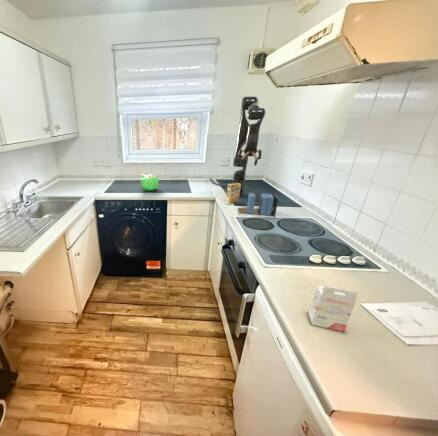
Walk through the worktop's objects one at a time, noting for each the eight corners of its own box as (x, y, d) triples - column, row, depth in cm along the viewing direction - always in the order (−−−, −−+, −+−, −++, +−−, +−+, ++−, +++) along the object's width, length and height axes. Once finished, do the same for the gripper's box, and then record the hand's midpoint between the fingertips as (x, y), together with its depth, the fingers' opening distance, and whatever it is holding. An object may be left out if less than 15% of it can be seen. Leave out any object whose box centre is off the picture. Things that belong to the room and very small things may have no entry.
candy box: (228, 204, 179) (231, 185, 173) (225, 203, 183) (227, 183, 177) (238, 203, 181) (241, 184, 175) (234, 201, 185) (237, 182, 179)
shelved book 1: (258, 209, 166) (261, 193, 161) (262, 210, 165) (265, 193, 160) (260, 214, 158) (263, 197, 153) (265, 214, 157) (268, 197, 152)
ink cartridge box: (338, 320, 76) (353, 283, 70) (344, 332, 72) (360, 293, 66) (307, 313, 79) (319, 277, 73) (311, 324, 75) (324, 286, 69)
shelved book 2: (263, 210, 165) (266, 193, 160) (267, 210, 164) (271, 194, 159) (265, 215, 157) (268, 197, 152) (270, 215, 156) (274, 198, 151)
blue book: (247, 213, 159) (250, 196, 155) (246, 209, 167) (249, 192, 163) (252, 213, 159) (255, 196, 154) (250, 209, 167) (253, 193, 162)
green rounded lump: (158, 192, 209) (159, 176, 204) (139, 192, 210) (139, 176, 204) (158, 187, 226) (158, 172, 220) (140, 187, 226) (140, 172, 221)
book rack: (237, 208, 170) (240, 191, 165) (271, 211, 165) (274, 193, 160) (239, 215, 160) (242, 196, 155) (274, 218, 154) (279, 199, 149)
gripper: (262, 140, 160) (258, 164, 167) (240, 140, 164) (237, 163, 170) (264, 141, 154) (260, 166, 160) (241, 141, 157) (237, 165, 164)
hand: (248, 165), depth 165 cm, fingers open, 8 cm apart
